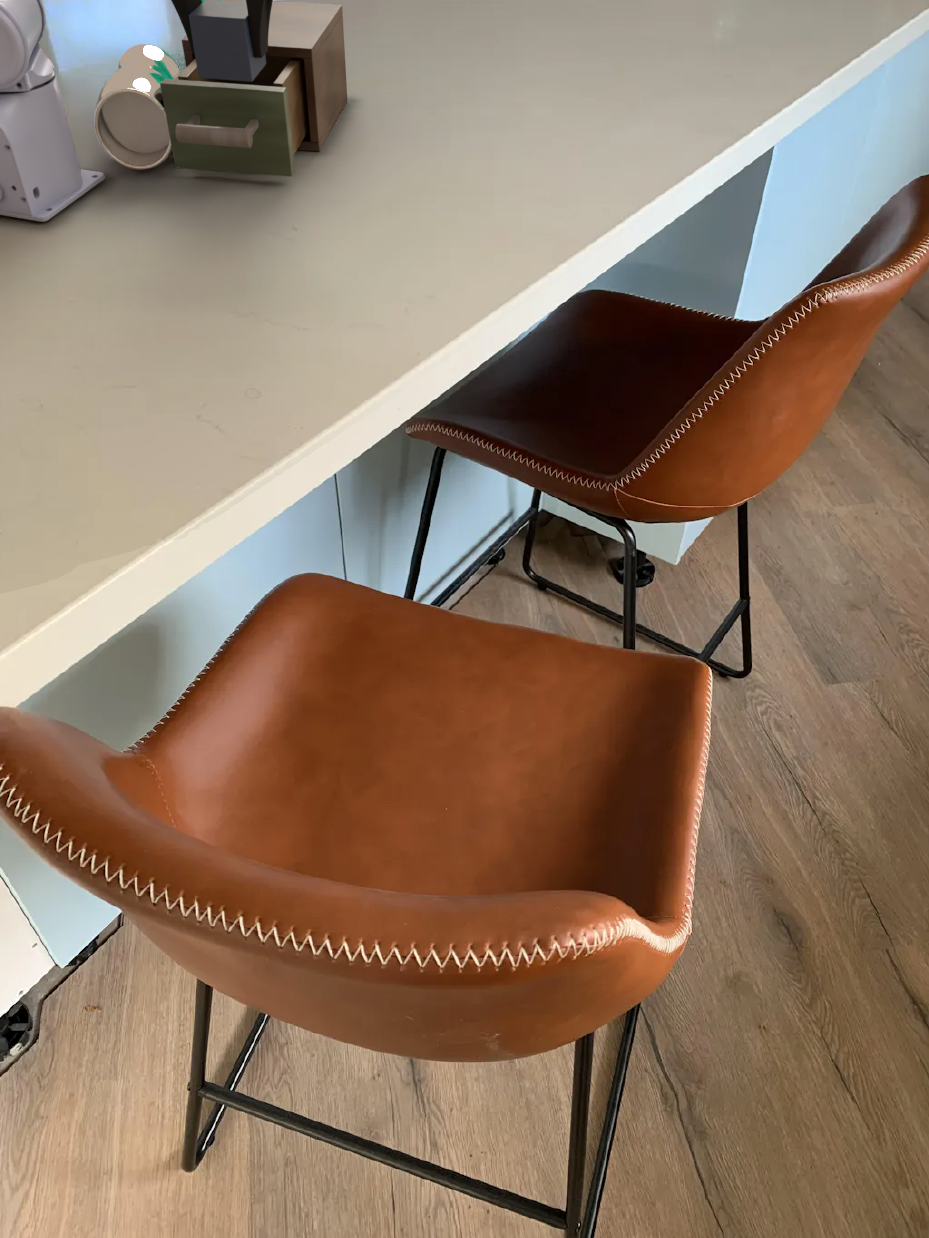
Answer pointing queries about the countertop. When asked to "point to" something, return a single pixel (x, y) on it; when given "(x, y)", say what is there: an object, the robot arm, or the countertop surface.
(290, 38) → the cabinet
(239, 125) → the drawer
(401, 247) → the countertop surface
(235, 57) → the block
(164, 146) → the beige cup
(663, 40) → the countertop surface
